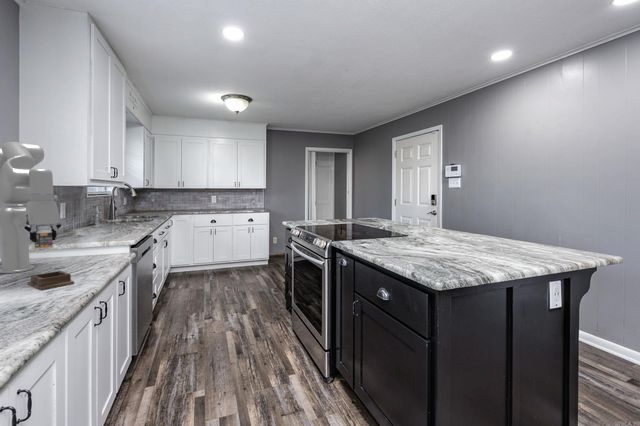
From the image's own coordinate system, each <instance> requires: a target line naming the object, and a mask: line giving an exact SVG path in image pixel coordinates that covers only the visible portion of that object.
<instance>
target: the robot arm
mask: <svg viewBox="0 0 640 426" xmlns="http://www.w3.org/2000/svg"><path fill="white" fill-rule="evenodd" d="M44 158H45V151H44V149H43V147H41V146H40V145H39V144H36V143H30V142H29V143H28V142H23V141H22V142H20V141H8V142H5V143H3V145H2V146H1V147H0V203H1V204H4V206H2V207H0V244H1V245H0V246H1V263H2V265H1V266H2V267H1V268H0V274H16V273H23V272H28V271H32V270H34V269H35V266H34V265H31V264H30V263H31V262H30V261H31V260H30V244H29V243H30V241H31V242H33V243H35V242H36V232H35V231H36V226H38V225H50V230H51V231H52V240H53V241H56V240H57V236H58V235H57V231H58V230H59V229H60V228H61V227H62V226H63V225H64V224H65V223H66V220H65V219H63V218H61V217H60V216H59V210H58V206H57V202H56V201H55V200H57V199H58V198H59V197H58V195H55V194H54V179H53V177H54V176H53V172H52V170H50V169H44V168H34V167H36V166H37V165H39V164H40V163H42V161H44ZM5 205H6V206H5Z"/></svg>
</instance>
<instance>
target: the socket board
mask: <svg viewBox="0 0 640 426" xmlns="http://www.w3.org/2000/svg"><path fill="white" fill-rule="evenodd" d="M71 278H72V277H71V273H67V272H66V271H62V270H57V271H56V270H55V271H50V272H44V273H39V274H33V275H30V281H28V282H27V285H28V286H30V287H32V288H34V289H37V290H39V291H47V290H51V289H56V288H60V287H66V286H71V285H75V281H74V280H71Z"/></svg>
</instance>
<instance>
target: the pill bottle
mask: <svg viewBox="0 0 640 426" xmlns="http://www.w3.org/2000/svg"><path fill="white" fill-rule="evenodd" d="M35 232H36V242H34V249H35V250H49V249H52V248H53V247H54V245H53V243H54V240H52V231H51V227H50V225H37V226H36V228H35Z"/></svg>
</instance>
